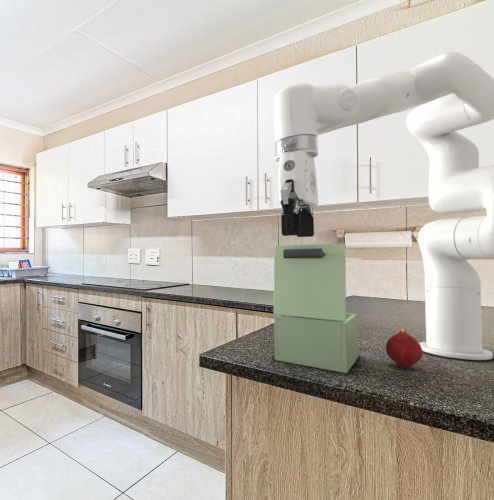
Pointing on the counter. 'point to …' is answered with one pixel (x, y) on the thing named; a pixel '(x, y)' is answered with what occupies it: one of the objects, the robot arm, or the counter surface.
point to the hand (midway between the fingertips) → (298, 236)
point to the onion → (404, 349)
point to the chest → (317, 341)
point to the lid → (310, 281)
